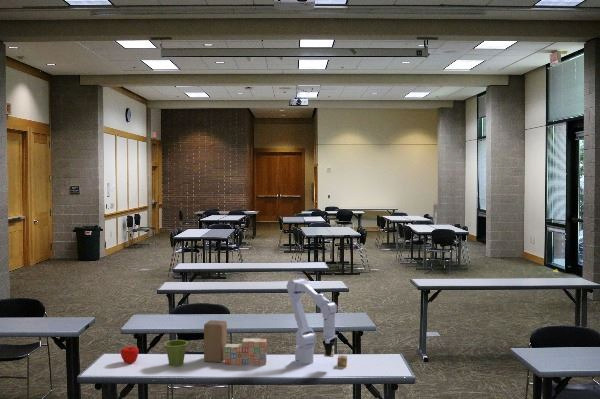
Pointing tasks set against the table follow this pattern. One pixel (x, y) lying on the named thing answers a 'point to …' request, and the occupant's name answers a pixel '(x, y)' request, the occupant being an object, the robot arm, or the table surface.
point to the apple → (129, 354)
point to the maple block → (331, 352)
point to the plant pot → (176, 351)
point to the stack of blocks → (246, 352)
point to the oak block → (342, 361)
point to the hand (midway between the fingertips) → (329, 353)
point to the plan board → (342, 367)
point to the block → (215, 340)
